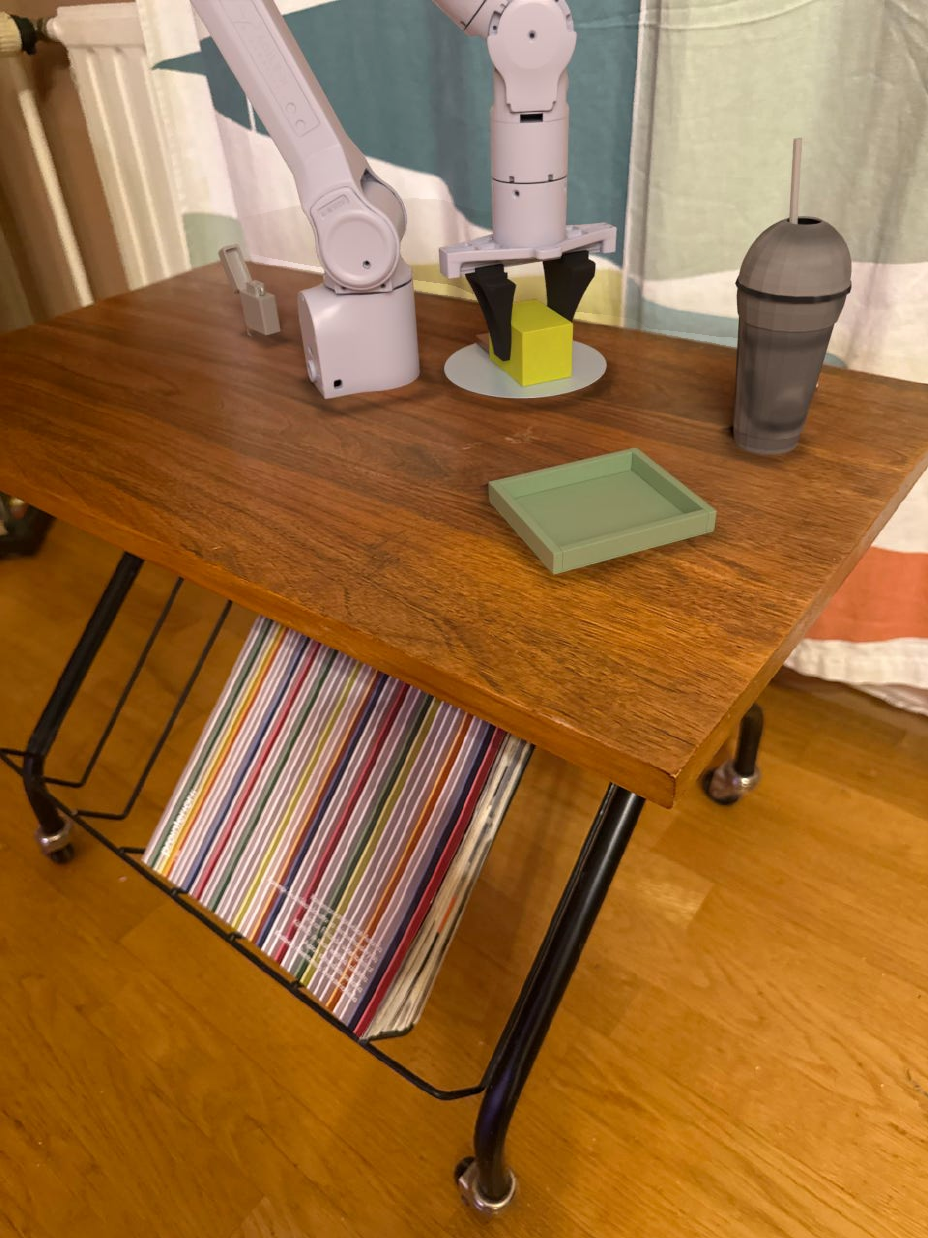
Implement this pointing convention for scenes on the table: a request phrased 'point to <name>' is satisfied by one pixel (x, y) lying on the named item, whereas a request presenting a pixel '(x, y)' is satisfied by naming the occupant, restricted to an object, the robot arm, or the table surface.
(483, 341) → the block
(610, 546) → the sponge dish
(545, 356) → the sponge
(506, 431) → the table surface
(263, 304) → the lighter
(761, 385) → the beverage cup
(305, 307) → the robot arm
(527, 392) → the plate
